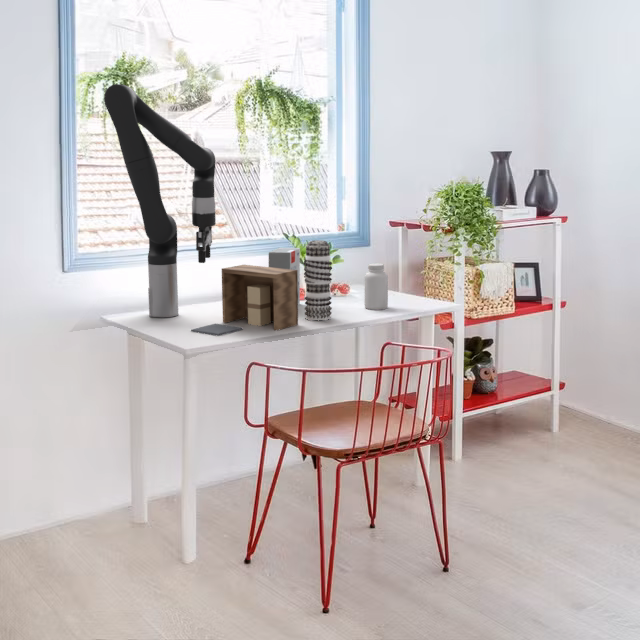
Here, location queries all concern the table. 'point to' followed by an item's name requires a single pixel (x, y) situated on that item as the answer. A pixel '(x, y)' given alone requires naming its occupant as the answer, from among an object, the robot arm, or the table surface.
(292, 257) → the hard drive box
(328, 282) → the decorative candle
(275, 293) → the cubby
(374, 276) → the pill bottle
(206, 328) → the mat
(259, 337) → the table surface
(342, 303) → the table surface
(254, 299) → the block
